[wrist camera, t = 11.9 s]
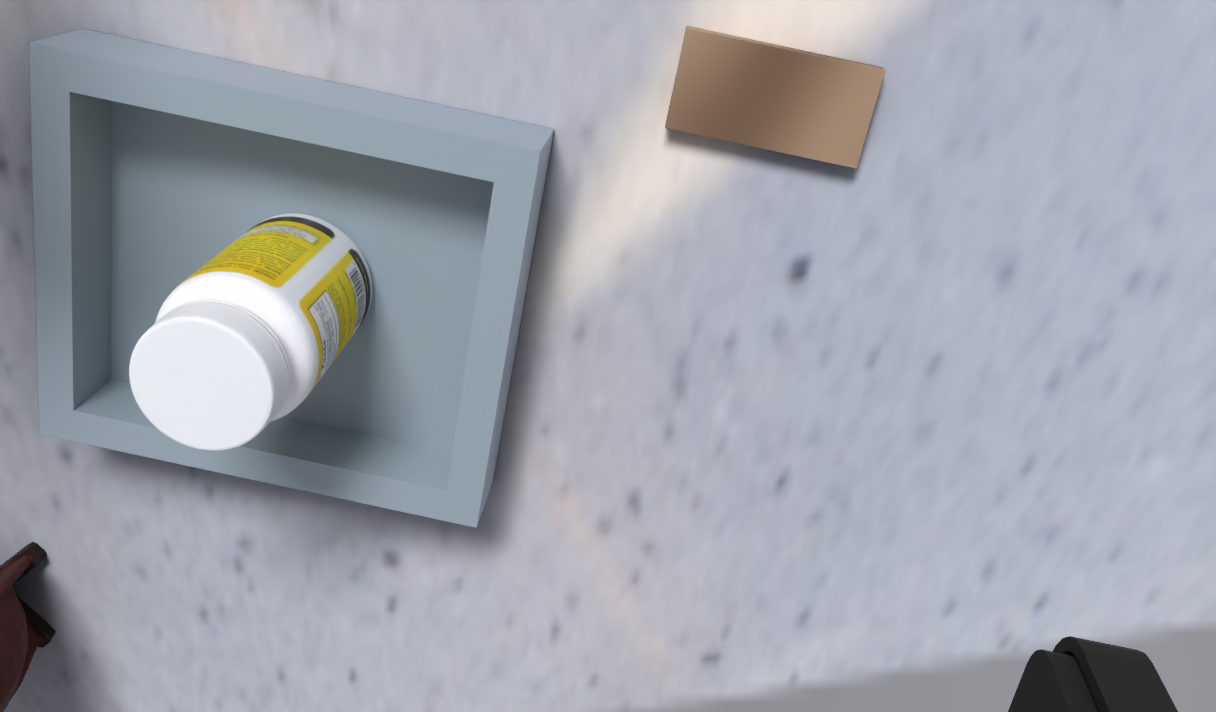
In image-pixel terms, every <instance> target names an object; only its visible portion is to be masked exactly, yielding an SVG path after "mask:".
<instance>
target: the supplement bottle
mask: <svg viewBox="0 0 1216 712" xmlns="http://www.w3.org/2000/svg"><path fill="white" fill-rule="evenodd" d="M371 299H372V279H371V274H370V270H369V267H368V264H367V262H366V260H365V258H364V256H363V254H362V253H361V251H360V250H359V248H358V247H357V246H356V244H355V243H354V242H353V241H352V240H351V239H350V238H349V237H348V236H347V235H346V234H345V233H343V232H342V231H341V230H339V229H338V228H337V227H335V226H333V225H332V224H330V223H328V222H326V221H324V220H322V219H320V218H317V217H314V216H310V215H305V214H294V213H291V214H282V215H277V216H273V217H270V218H268V219H266V220H263V221H262V222H260V223H258V224H257V225H255V226H254V227H252V228H251V229H249V230H248V231H247V232H246V233H244V234H243V235H242V236H241V237H239V238H238V239H237V240H235V241H234V242H233V243H232V244H230V245H229V246H228V247H227V248H225V249H224V250H223V251H222V252H220V253H219V254H218V255H217V256H215V257H214V258H213V259H211V260H210V261H209V262H208V263H206V264H205V265H204V266H203V267H201V268H200V269H199V270H198V271H196V272H195V273H194V274H192V275H191V276H190V277H188V278H187V279H186V280H185V281H183V282H182V283H181V284H180V285H179V286H177V287H176V288H175V289H174V290H173V291H172V292H171V294H170V295H169V296H168V297H167V299H166V300H165V301H164V303H163V305H162V306H161V308H160V310H159V313H158V315H157V318H156V321H155V324H154V325H153V326H151V327H150V328H149V329H148V330H147V331H146V332H145V333H144V334H143V335H142V336H141V338H140V339H139V341H138V342H137V344H136V346H135V348H134V350H133V352H132V355H131V359H130V365H129V377H130V385H131V389H132V392H133V395H134V398H135V400H136V402H137V404H138V406H139V407H140V409H141V411H142V412H143V413H144V415H145V416H146V417H147V418H148V420H149V421H150V422H151V423H152V424H153V425H154V426H155V427H156V428H157V429H158V430H160V431H161V432H162V433H164V434H165V435H166V436H168V437H170V438H171V439H173V440H175V441H177V442H179V443H181V444H183V445H186V446H189V447H193V448H196V449H202V450H211V451H220V450H227V449H232V448H236V447H239V446H241V445H243V444H245V443H247V442H249V441H250V440H252V439H253V438H255V437H256V436H257V435H258V434H259V433H260V432H261V431H262V430H263V429H264V428H265V427H266V426H267V425H268V424H269V423H270V422H271V421H274V420H277V419H279V418H281V417H283V416H285V415H287V414H288V413H290V412H291V411H292V410H294V409H295V408H296V407H297V406H298V405H300V404H301V403H302V402H303V401H304V400H305V398H306V397H307V396H308V395H309V393H310V392H311V391H312V389H313V388H314V387H315V385H316V384H317V383H318V382H319V380H320V379H321V378H322V376H323V375H324V374H325V372H326V371H327V370H328V368H329V367H330V366H331V364H332V363H333V362H334V360H335V359H336V358H337V356H338V355H339V354H340V352H341V351H342V350H343V348H344V347H345V346H346V344H347V343H348V342H349V340H350V339H351V338H352V336H353V335H354V334H355V332H356V331H357V330H358V328H359V327H360V326H361V324H362V323H363V321H364V319H365V318H366V315H367V313H368V311H369V308H370V304H371Z"/></svg>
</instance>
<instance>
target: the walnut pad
mask: <svg viewBox="0 0 1216 712" xmlns="http://www.w3.org/2000/svg"><path fill="white" fill-rule="evenodd" d="M884 74H885V70H884V69H883V68H882V67H878V66H873V65H868V64H863V63H859V62H854V61H849V60H845V59H840V58H835V57H831V56H826V55H821V54H816V53H812V52H807V51H802V50H798V49H793V48H788V47H784V46H779V45H774V44H769V43H765V42H760V41H755V40H751V39H746V38H741V37H737V36H732V35H727V34H722V33H718V32H713V31H708V30H704V29H699V28H694V27H690V26H687V28H686V32H685V37H684V42H683V46H682V51H681V55H680V60H679V65H678V69H677V74H676V79H675V83H674V88H673V93H672V97H671V102H670V106H669V111H668V116H667V120H666V125H665V128H668V129H673V130H678V131H682V132H687V133H692V134H696V135H701V136H706V137H710V138H715V139H720V140H725V141H729V142H734V143H739V144H743V145H748V146H753V147H757V148H762V149H767V150H771V151H776V152H781V153H786V154H790V155H795V156H800V157H804V158H809V159H814V160H818V161H823V162H828V163H832V164H837V165H842V166H847V167H851V168H856V169H857V166H858V162H859V159H860V155H861V152H862V149H863V145H864V142H865V138H866V135H867V132H868V128H869V125H870V121H871V118H872V115H873V111H874V108H875V104H876V101H877V97H878V94H879V91H880V87H881V84H882V80H883V77H884Z"/></svg>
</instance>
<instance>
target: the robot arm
mask: <svg viewBox="0 0 1216 712" xmlns="http://www.w3.org/2000/svg"><path fill="white" fill-rule="evenodd" d="M1008 712H1178V711H1177V709H1176V707H1175V705H1174V703H1173V702H1172V700H1171V698H1170V696H1169V694H1168V692H1167V690H1166V688H1165V686H1164V684H1163V683H1162V681H1161V679H1160V677H1159V675H1158V673H1157V671H1156V669H1155V667H1154V665H1153V663H1152V662H1151V660H1149V658H1148V656H1147V655H1146V654H1145V653H1143V652H1141V651H1138V650H1134V649H1129V648H1124V647H1120V646H1115V645H1110V644H1105V643H1100V642H1095V641H1090V640H1085V639H1080V638H1075V637H1070V636H1069V637H1066V638H1063V639H1062V640H1061V641H1060V642H1059V643H1058V644H1057V645H1056V646H1055V648H1054V650H1053V652H1051V651H1046V650H1037V651H1035V652H1034V653H1033V654H1032V656H1031V657H1030V659H1029V661H1028V663H1027V665H1026V668H1025V670H1024V673H1023V675H1022V678H1021V680H1020V683H1019V685H1018V688H1017V690H1016V693H1015V695H1014V698H1013V701H1012V703H1011V706H1010V708H1009V711H1008Z"/></svg>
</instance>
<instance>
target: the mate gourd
mask: <svg viewBox="0 0 1216 712" xmlns="http://www.w3.org/2000/svg"><path fill="white" fill-rule="evenodd" d="M46 556H47V554H46V552H45V551H44V550H43V549H42V548H41V547H40V546H39V545H38V544H37V543H34V542H32V543H30V544H29V545H27V546H26V547H24V548H23V549H22V550H20V551H19V552H18V553H16V554H15V555H14V556H13V557H11V558H10V559H9V560H7V561H6V562H5V563H4V564H2V565H1V566H0V712H3V711H4V710H5V708H6V707H7V705H8V703H9V701H10V699H11V698H12V697H13V695H14V694H15V692H16V691H17V689H18V688H19V687H20V685H21V683H22V681H23V679H24V676H25V674H26V672H27V670H28V668H29V665H30V662H31V660H32V657H33V655H34V653H35V651H36V648H37V646H38V647H44V646H45V645H47V644H48V643H49V642H50V641H51V639H52V637H53V635H54V634H55V630H54V629H53V628H52V627H51V626H50V625H49V624H48V623H47V622H46V621H44V620H43V619H42V618H41V617H40V616H39V615H38V614H37V613H36V612H35V611H33V610H32V609H31V608H30V607H29V606H28V605H27V604H26V603H25V602H23V601H22V600H21V599H20V598H19V597H18V596H17V595H16V594H15V591H14V587H13V584H14V583H15V582H16V581H18V580H19V579H20V578H21V577H23V576H24V575H25V574H27V573H28V572H29V571H30V570H32V569H33V568H34V567H36V566H37V565H38V564H39V563H40V562H41V561H42V560H43V559H44V558H45V557H46Z"/></svg>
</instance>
